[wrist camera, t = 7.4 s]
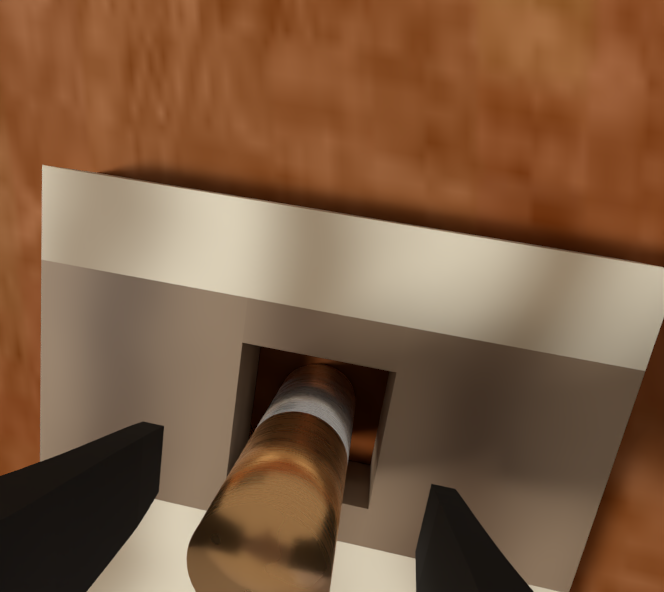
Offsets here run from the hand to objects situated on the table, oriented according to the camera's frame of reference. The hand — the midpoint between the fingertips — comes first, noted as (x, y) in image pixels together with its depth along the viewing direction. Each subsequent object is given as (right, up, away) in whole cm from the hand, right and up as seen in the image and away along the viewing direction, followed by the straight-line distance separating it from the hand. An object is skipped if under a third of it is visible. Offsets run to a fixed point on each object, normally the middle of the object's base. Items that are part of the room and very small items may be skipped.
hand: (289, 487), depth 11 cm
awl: (+1, +1, +5) cm, 6 cm away
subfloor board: (0, -1, +6) cm, 6 cm away
